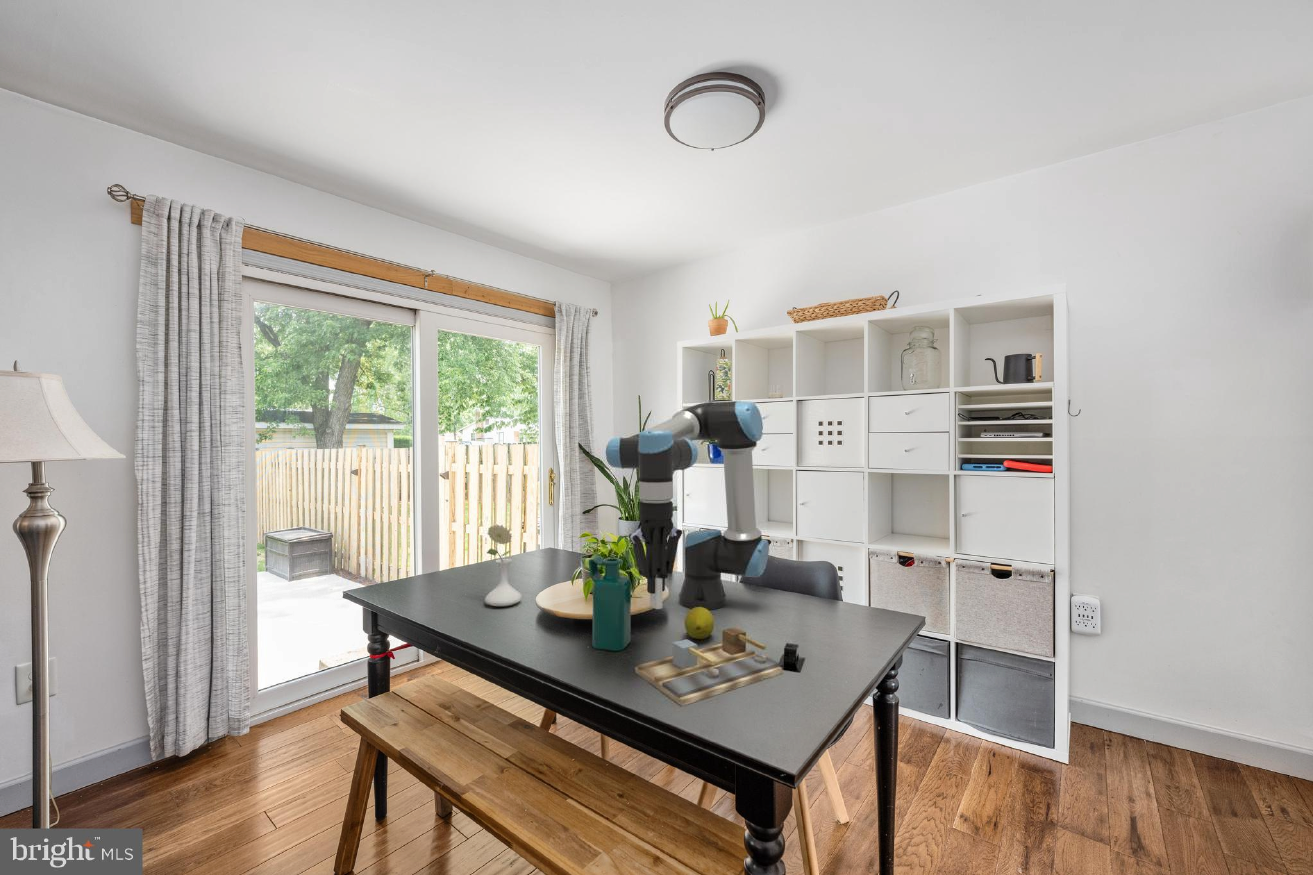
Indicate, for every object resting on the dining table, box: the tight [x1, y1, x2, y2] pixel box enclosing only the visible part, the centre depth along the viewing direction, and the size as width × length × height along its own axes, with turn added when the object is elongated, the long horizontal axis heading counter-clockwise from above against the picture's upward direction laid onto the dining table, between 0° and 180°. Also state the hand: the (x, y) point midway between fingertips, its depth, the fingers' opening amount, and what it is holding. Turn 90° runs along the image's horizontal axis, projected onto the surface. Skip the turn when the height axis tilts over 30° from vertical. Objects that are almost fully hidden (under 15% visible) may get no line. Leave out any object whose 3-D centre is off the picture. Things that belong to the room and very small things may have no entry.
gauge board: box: [634, 626, 783, 707], centre depth 122 cm, size 28×18×6 cm, turn 123°
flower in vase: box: [484, 524, 523, 607], centre depth 172 cm, size 13×11×25 cm
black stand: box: [778, 642, 806, 674], centre depth 128 cm, size 12×7×5 cm, turn 158°
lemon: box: [683, 607, 715, 640], centre depth 144 cm, size 11×8×8 cm
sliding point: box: [672, 639, 715, 669], centre depth 120 cm, size 4×12×5 cm, turn 33°
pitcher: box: [588, 555, 632, 652], centre depth 139 cm, size 10×8×22 cm
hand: (656, 606), depth 120 cm, fingers closed
